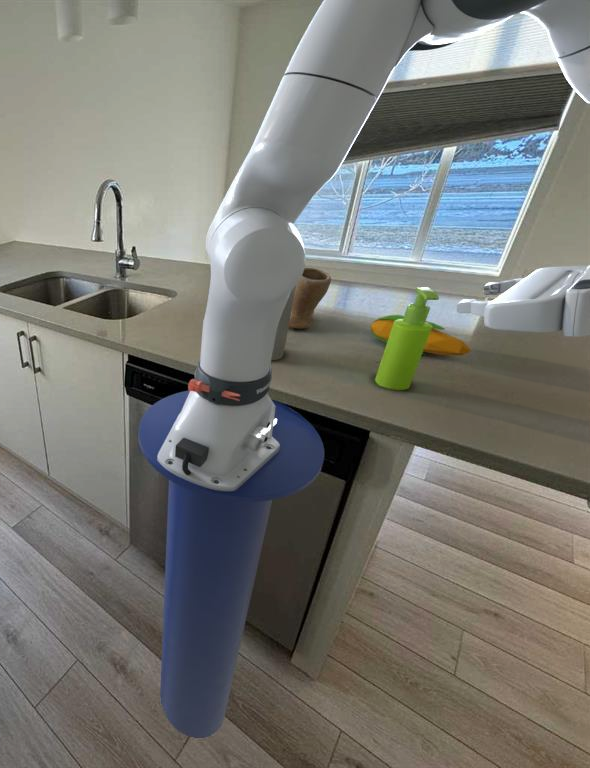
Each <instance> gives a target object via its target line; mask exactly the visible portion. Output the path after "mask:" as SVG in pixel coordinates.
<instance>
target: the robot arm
mask: <svg viewBox="0 0 590 768" xmlns="http://www.w3.org/2000/svg"><path fill="white" fill-rule="evenodd" d="M518 14H524V15H527V16H530V17H531V18H533V19H534V20H535V21H537V22H538V23H539V24H540V25H541V26H542V27H543V29H544V30H546V32H547V36H548V39H549V42H550V45H551V48H552V50H553V53H554V55H555V57H556V60H557V62H558V64H559V67H560V69H561V71H562V73H563V75H564V77H565V79H566V81H567V82H568V84H569V85H570V86H571V88H572V89H573V90H574V91H575V92H576V93H577V94H578V95H579V96H580V98H582V99H583V100H584V102H586V103H587V104H589V105H590V0H323V1H322V2H321V4H320V6H319V7H318V9H317V11H316V12H315V14H314V16H313V17H312V19H311V21H310V23H309V24H308V26H307V28H306V30H305V32H304V33H303V35H302V37H301V39H300V41H299V43H298V44H297V47H296V48H295V51H294V52H293V54H292V56H291V59H290V60H289V63H288V65H287V67H286V70H285V71H284V74H283V76H282V78H281V80H280V82H279V85H278V87H277V89H276V92H275V94H274V95H273V98H272V101H271V103H270V106H269V107H268V109H267V111H266V114H265V116H264V118H263V121H262V123H261V125H260V127H259V129H258V132H257V134H256V136H255V138H254V141H253V143H252V145H251V147H250V149H249V151H248V153H247V155H246V156H245V158H244V161H243V162H242V164H241V165H240V167H239V170H237V172H236V175H235V177H234V179H233V180H232V182H231V184H230V186H229V188H228V190H227V192H226V194H225V195H224V197H223V200H222V201H221V203H220V205H219V207H218V208H217V211H216V213H215V215H214V217H213V219H212V221H211V223H210V226H209V228H208V230H207V233H206V236H205V252H206V255H207V258H208V260H209V265H210V282H209V289H208V296H207V303H206V307H205V308H206V309H205V314H204V318H203V321H202V330H201V331H202V332H201V333H202V335H201V344H200V356H199V357H200V359H199V360H198V363H197V366H196V368H195V370H194V371H195V372H194V378H192V379H190V380H189V381H188V384H187V385H188V386H187V391H190V393H189V395H188V397H187V399H186V402H185V404H184V406H183V408H182V411H181V413H180V414H179V415H178V417H177V419H176V421H175V423H174V425H173V427H172V429H171V430H170V432H169V434H168V436H167V438H166V440H165V442H164V444H163V445H162V447H161V449H160V451H159V453H158V457H157V460H158V462H159V463H160V464H161V465H162V466H163V467H164V468H165V469H167V470H168V471H169V472H171V473H173V474H174V475H176V476H178V477H180V478H182V479H184V480H186V481H189V482H191V483H194V484H196V485H199V486H202V487H205V488H209V489H213V490H218V491H231V492H232V491H235V490H237V489H238V488H239V487H240V486H241V485H242V484H244V483H245V482H246V481H247V480H248V479H249V478H250V477H251V476H252V475H253V474H255V473H256V472H257V471H258V470H259V469H260V468H261V467H262V466H263V465H264V464H265V463H267V462H268V461H269V460H270V459H271V458H272V457H273V456H274V455H275V454H276V453H278V452H279V450H280V444H279V443H278V442H277V441H276V440H275V439H274V438H273V437H272V431H273V426H274V425H275V424H276V422H277V419H274V415H275V405H274V403H273V402H272V400H273V399H272V398H271V396H270V395H269V391H270V387H271V384H272V380H273V379H272V375H273V374H272V372H273V370H272V367H271V363H272V360H271V358H272V352H273V347H274V341H275V336H276V331H277V327H278V324H279V320H280V318H281V315H282V312H283V310H284V308H285V305H286V303H287V300H288V298H289V295H290V292H291V290H292V289H293V288H294V287H295V286H296V284H297V283H298V282H299V280H300V278H301V276H302V274H303V271H304V268H306V261H307V259H306V250H305V245H304V242H303V240H302V236H301V234H300V232H299V231H298V229H297V228H296V226H295V222H296V221H297V220H298V219H299V217H300V216H301V214H302V213H303V212H304V210H305V209H306V207H308V205H309V204H310V202H312V200H313V199H314V197H315V196H316V195H317V194H318V193H319V192H320V191H321V189H322V188H323V187H324V186H325V185H326V184H327V183H328V182H330V181H331V180H332V179H333V177H334V176H335V175H336V174H337V172H338V171H339V169H340V167H341V166H342V164H343V162H344V161H345V159H346V157H347V155H348V154H349V151H350V150H351V148H352V146H353V144H354V143H355V141H356V139H357V137H358V135H359V134H360V132H361V130H362V128H363V127H364V125H365V123H366V121H367V120H368V119H369V116H370V114H371V113H372V111H373V109H374V107H375V105H376V104H377V102H378V100H379V98H380V96H381V95H382V92H383V91H384V89H385V87H386V85H387V84H388V81H389V79H390V78H391V75H392V74H393V72H394V70H395V69H396V68H397V67H398V66H399V64H400V63H401V61H402V60H403V58H404V57H405V56H406V55H407V53H408V52H415V51H419V52H420V51H431V50H438V49H441V48H445V47H447V46H450V45H452V44H455V43H457V42H459V41H461V40H464V39H468V38H473V37H475V36H478V35H481V34H484V33H485V32H488V31H489V30H492V29H493V28H496V27H497V26H499V25H501V24H502V23H504V22H506V21H507V20H509V19H511V18H512V17H514V16H516V15H518ZM499 294H500V295H499ZM483 295H485V296H497V295H499V296H497V297H496V298H495V299H493V300H486V301H477V300H476V299H462V300H461V301H459V302H457V304H456V313H458V314H471V315H474V316H479V317H482V318H483V324H484V327H486V328H488V329H491V330H496V331H502V332H503V331H505V332H519V333H535V334H537V333H539V334H547V333H548V334H549V333H557V332H560V331H561V336H562V337H567V338H583V337H588V336H590V264H589V265H567V266H566V265H564V266H563V265H562V266H548V267H542V268H538V269H536V270H534V271H533V272H532V273H530V274H529V275H527V276H526V277H520V278H519V277H518V278H514V279H508V280H503V281H490V282H488V283H486V284H485V285H484V286H483ZM170 464H171V465H170ZM215 483H217V484H215Z"/></svg>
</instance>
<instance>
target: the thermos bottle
mask: <svg viewBox="0 0 590 768" xmlns="http://www.w3.org/2000/svg"><path fill="white" fill-rule="evenodd" d="M296 285H297V284H296ZM295 290H296V286H295V287H294V288H293V289H292V290H291V292H290V295H289V298H288V300H287V303H286V305H285V308H284V310H283V312H282V315H281V318H280V320H279V324H278V327H277V331H276V336H275V341H274V347H273V352H272V358H271V361H277V360H280V359H281V358H283V357H284V353H285V347H286V343H287V337H288V332H289V328H288V327H289V321H290V316H291V311H292V306H293V301H294V296H295Z"/></svg>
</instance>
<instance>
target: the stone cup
mask: <svg viewBox="0 0 590 768" xmlns="http://www.w3.org/2000/svg"><path fill="white" fill-rule="evenodd" d="M331 282H332V277H331V275H330V274H329V273H328V272H326V271H324V270H321V269H319V268H315V267H305V268H304V271H303V274H302V276H301V278H300V280H299V282H298V283H297V285H296V290H295V296H294V301H293V306H292V311H291V316H290V321H289V327H288V329H299V330H300V329H308V328H310V327H311V326H312V325H313V323H314V319H315V310H316V308H317V306H318V305H319V304H320V302H321V301H322V300H323V298H324V297H325V296H326V295H327V293H328V291H329V288H330V285H331Z"/></svg>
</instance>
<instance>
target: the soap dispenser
mask: <svg viewBox="0 0 590 768" xmlns="http://www.w3.org/2000/svg"><path fill="white" fill-rule="evenodd" d="M414 291H415V292H417V293H416V298H415V300H414V302H412V303H409V304H408V305H406V309H405V312H404V315H403V316H404V318H403V319H398V320H395V321H394V323H393V326H392V329H391V332H390V335H389V338H388V341H387V343H386V345H385V348H384V351H383V354H382V357H381V361H380V363H379V366H378V368H377V373H376V376H375V379H374V381H375V383H376V384H377V385H378V386H379V387H382V388H385V389H388V390H393V391H405V390H408V389H409V388H410V387H411V384H412V382H413V380H414V379H413V378H414V377H415V374H416V371H417V368H418V366H419V363H420V361H421V359H422V355H423V354H422V353H424V352H423V350H424V348H425V345H426V342H427V340H428V337H429V334H430V332H431V329H432V325H431V324H429V323H427V322H425V321H427V318H428V316H429V313H430V310H431V307H430V306H429V305H427V302H428V301H438V300H440V297H439V295H438V293H437V292H436V291H435V290H433V289H432V288H430V287H415V289H414Z"/></svg>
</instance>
